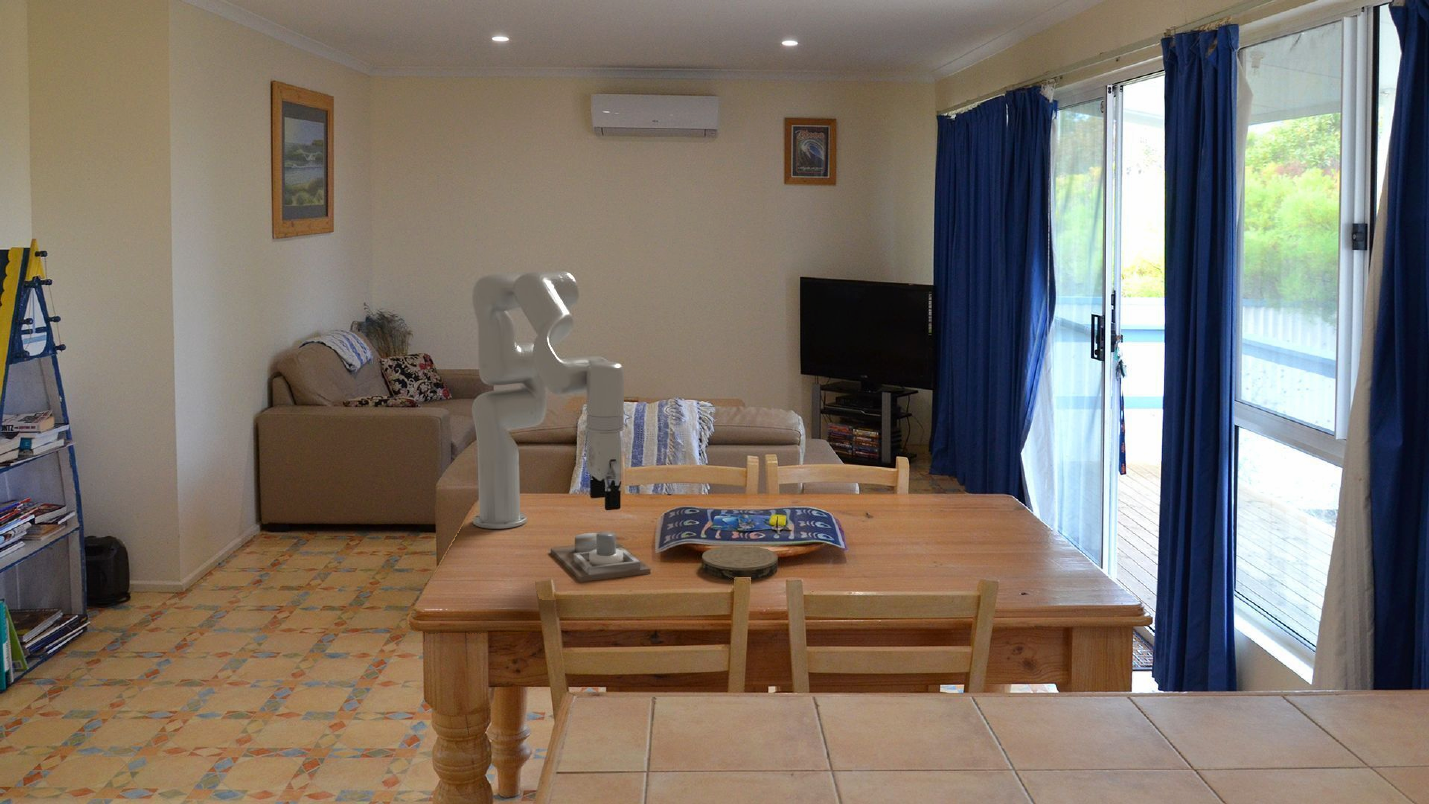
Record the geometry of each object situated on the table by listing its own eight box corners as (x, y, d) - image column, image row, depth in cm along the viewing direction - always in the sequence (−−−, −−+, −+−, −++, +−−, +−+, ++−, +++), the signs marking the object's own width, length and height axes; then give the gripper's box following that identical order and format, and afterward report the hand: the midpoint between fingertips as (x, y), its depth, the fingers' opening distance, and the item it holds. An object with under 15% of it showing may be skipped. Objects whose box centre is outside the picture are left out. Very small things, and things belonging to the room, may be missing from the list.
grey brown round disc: (754, 586, 242) (754, 572, 241) (687, 573, 250) (687, 559, 249) (790, 566, 255) (791, 552, 254) (726, 554, 263) (726, 541, 263)
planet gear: (585, 561, 253) (584, 531, 252) (616, 558, 255) (616, 528, 254) (595, 571, 246) (595, 540, 245) (627, 567, 249) (627, 537, 248)
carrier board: (550, 552, 263) (550, 534, 262) (615, 544, 268) (615, 527, 268) (580, 581, 243) (580, 562, 242) (650, 573, 249) (650, 554, 248)
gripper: (575, 415, 252) (575, 494, 255) (600, 432, 237) (600, 516, 240) (609, 413, 255) (608, 491, 258) (636, 429, 240) (636, 512, 243)
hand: (605, 503), depth 249 cm, fingers open, 9 cm apart
